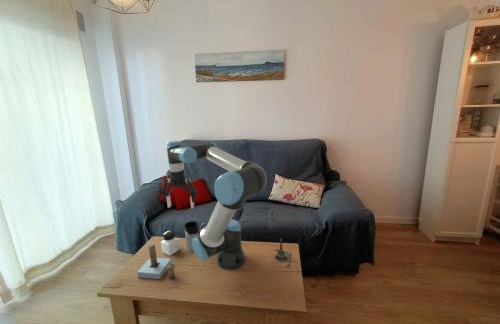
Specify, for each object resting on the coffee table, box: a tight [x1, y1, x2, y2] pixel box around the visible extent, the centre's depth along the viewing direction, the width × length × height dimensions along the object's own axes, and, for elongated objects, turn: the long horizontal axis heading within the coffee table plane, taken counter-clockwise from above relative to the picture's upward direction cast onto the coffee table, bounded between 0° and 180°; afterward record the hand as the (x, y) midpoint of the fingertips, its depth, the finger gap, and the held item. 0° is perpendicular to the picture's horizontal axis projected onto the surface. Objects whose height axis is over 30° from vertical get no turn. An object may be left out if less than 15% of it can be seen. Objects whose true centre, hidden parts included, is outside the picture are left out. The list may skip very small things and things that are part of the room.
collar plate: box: [136, 257, 173, 280], centre depth 124 cm, size 12×12×3 cm
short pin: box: [166, 264, 175, 280], centre depth 118 cm, size 3×3×6 cm
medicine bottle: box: [160, 230, 180, 256], centre depth 139 cm, size 7×7×12 cm
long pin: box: [148, 244, 158, 268], centre depth 123 cm, size 3×3×14 cm
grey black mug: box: [184, 220, 208, 252], centre depth 143 cm, size 9×14×15 cm, turn 118°
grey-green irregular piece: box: [274, 238, 292, 269], centre depth 128 cm, size 15×10×13 cm
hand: (181, 207), depth 131 cm, fingers open, 13 cm apart
